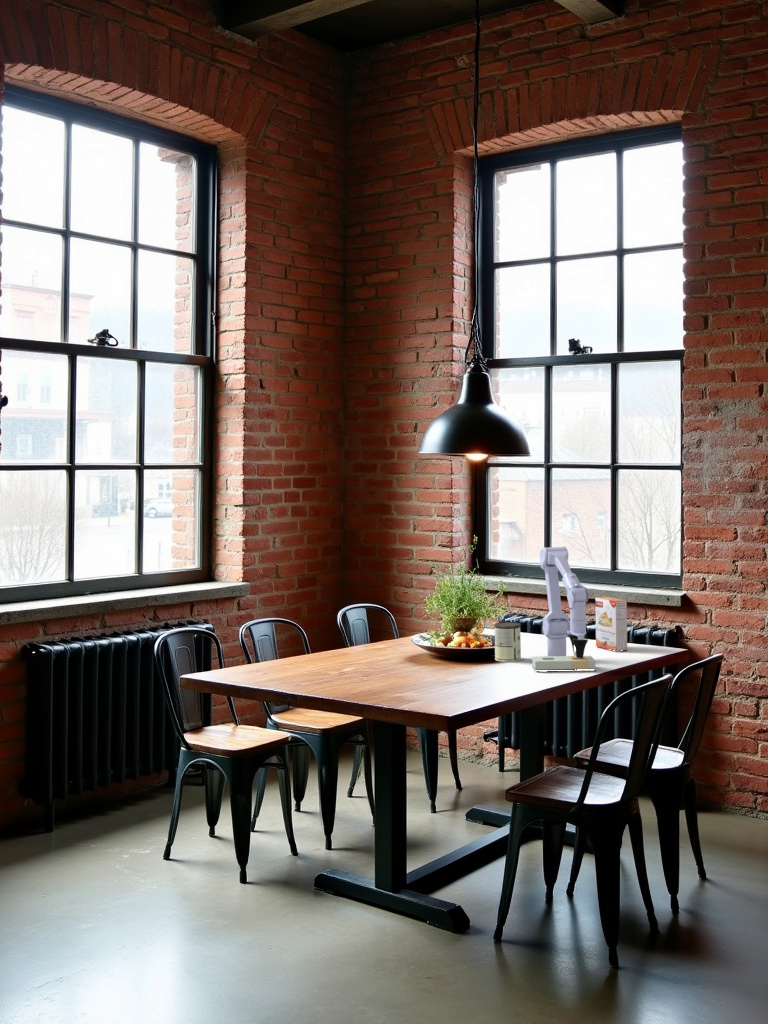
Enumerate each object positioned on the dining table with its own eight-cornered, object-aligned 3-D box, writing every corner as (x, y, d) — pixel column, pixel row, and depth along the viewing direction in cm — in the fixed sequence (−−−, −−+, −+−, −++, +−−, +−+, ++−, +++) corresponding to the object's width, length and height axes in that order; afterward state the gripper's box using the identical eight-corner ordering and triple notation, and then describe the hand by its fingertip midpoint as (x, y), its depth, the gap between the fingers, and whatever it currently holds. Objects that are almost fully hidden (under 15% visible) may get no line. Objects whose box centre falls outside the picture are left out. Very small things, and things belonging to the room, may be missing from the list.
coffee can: (494, 657, 432) (494, 622, 431) (520, 657, 431) (520, 622, 430) (494, 662, 422) (494, 626, 421) (521, 662, 421) (520, 626, 420)
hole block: (532, 667, 410) (532, 656, 410) (591, 666, 409) (591, 655, 409) (535, 672, 400) (535, 661, 400) (595, 671, 400) (595, 660, 399)
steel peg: (573, 665, 406) (573, 644, 406) (581, 665, 406) (581, 644, 406) (574, 667, 403) (574, 645, 403) (582, 667, 403) (582, 645, 403)
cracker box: (595, 647, 450) (594, 597, 449) (606, 646, 453) (606, 596, 452) (615, 652, 437) (615, 600, 436) (627, 651, 440) (627, 599, 439)
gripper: (564, 617, 411) (564, 652, 412) (569, 622, 397) (570, 659, 397) (583, 616, 411) (583, 652, 412) (589, 622, 396) (589, 659, 397)
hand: (578, 655), depth 404 cm, fingers open, 7 cm apart
